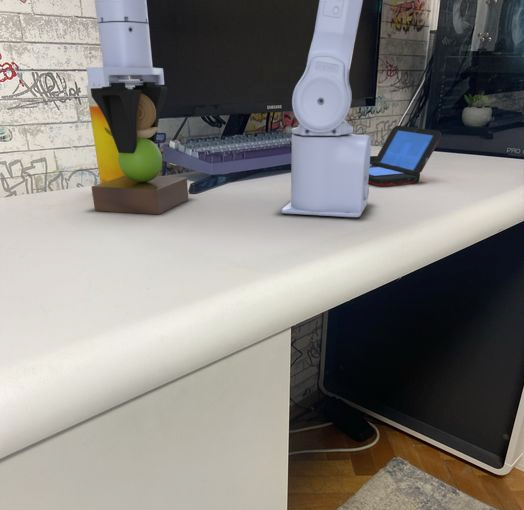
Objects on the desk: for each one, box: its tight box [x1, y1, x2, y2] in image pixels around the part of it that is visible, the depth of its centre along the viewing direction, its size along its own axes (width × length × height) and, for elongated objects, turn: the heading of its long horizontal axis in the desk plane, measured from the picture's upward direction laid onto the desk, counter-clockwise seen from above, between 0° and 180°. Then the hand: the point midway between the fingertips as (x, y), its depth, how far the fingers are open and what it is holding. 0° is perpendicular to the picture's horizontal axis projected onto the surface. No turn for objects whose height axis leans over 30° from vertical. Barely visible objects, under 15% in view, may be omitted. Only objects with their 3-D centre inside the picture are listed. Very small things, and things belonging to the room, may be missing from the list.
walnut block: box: [91, 175, 189, 215], centre depth 70 cm, size 9×9×3 cm
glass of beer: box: [86, 78, 134, 184], centre depth 75 cm, size 6×6×15 cm
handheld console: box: [368, 125, 442, 187], centre depth 85 cm, size 12×11×7 cm
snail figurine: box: [118, 93, 163, 182], centre depth 66 cm, size 5×6×12 cm
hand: (137, 150), depth 67 cm, fingers open, 4 cm apart
